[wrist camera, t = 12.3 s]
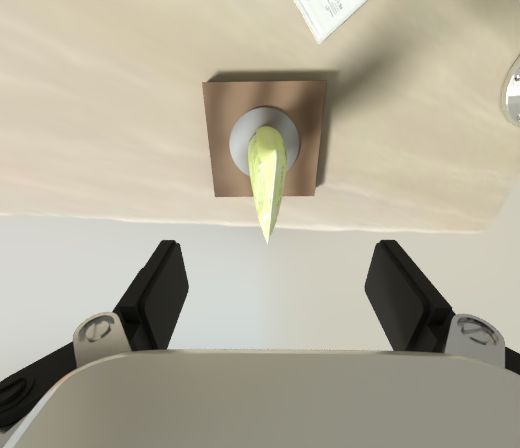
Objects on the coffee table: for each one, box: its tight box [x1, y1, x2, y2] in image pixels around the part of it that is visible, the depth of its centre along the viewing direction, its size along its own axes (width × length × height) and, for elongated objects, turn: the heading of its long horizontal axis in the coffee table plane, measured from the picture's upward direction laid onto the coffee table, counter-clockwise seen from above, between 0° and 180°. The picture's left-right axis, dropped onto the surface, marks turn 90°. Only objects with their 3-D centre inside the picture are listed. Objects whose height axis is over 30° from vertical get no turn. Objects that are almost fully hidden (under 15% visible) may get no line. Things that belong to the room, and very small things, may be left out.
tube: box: [248, 126, 287, 244], centre depth 26 cm, size 6×5×20 cm
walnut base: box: [202, 81, 326, 197], centre depth 36 cm, size 16×16×3 cm
